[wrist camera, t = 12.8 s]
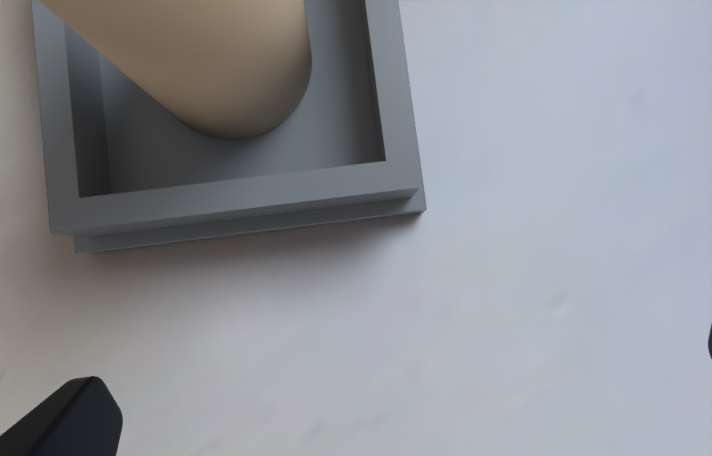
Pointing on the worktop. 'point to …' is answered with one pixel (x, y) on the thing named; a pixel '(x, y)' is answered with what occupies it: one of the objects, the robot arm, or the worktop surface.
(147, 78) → the beige knobbed cylinder
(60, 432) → the robot arm
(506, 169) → the worktop surface
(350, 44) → the grey rimmed tray
